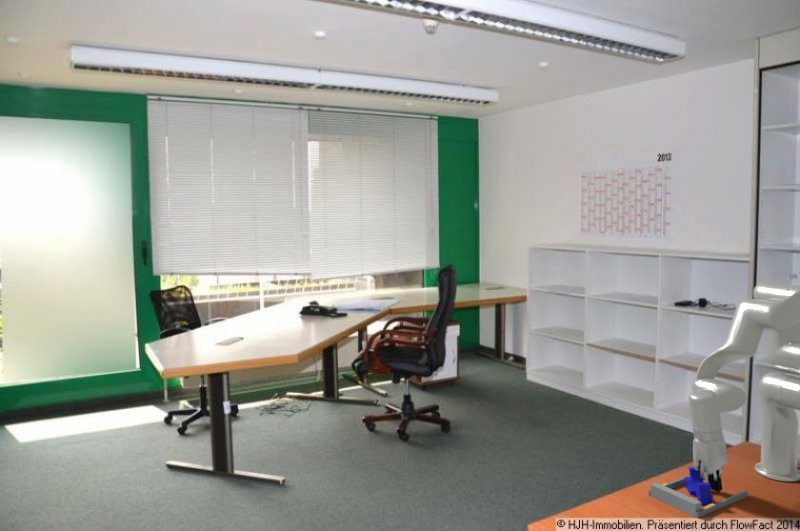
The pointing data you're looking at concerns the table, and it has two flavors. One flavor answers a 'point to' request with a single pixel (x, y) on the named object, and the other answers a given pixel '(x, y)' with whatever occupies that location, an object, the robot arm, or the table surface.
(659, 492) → the u-shaped alignment fixture
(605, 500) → the table surface
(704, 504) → the cable clip
